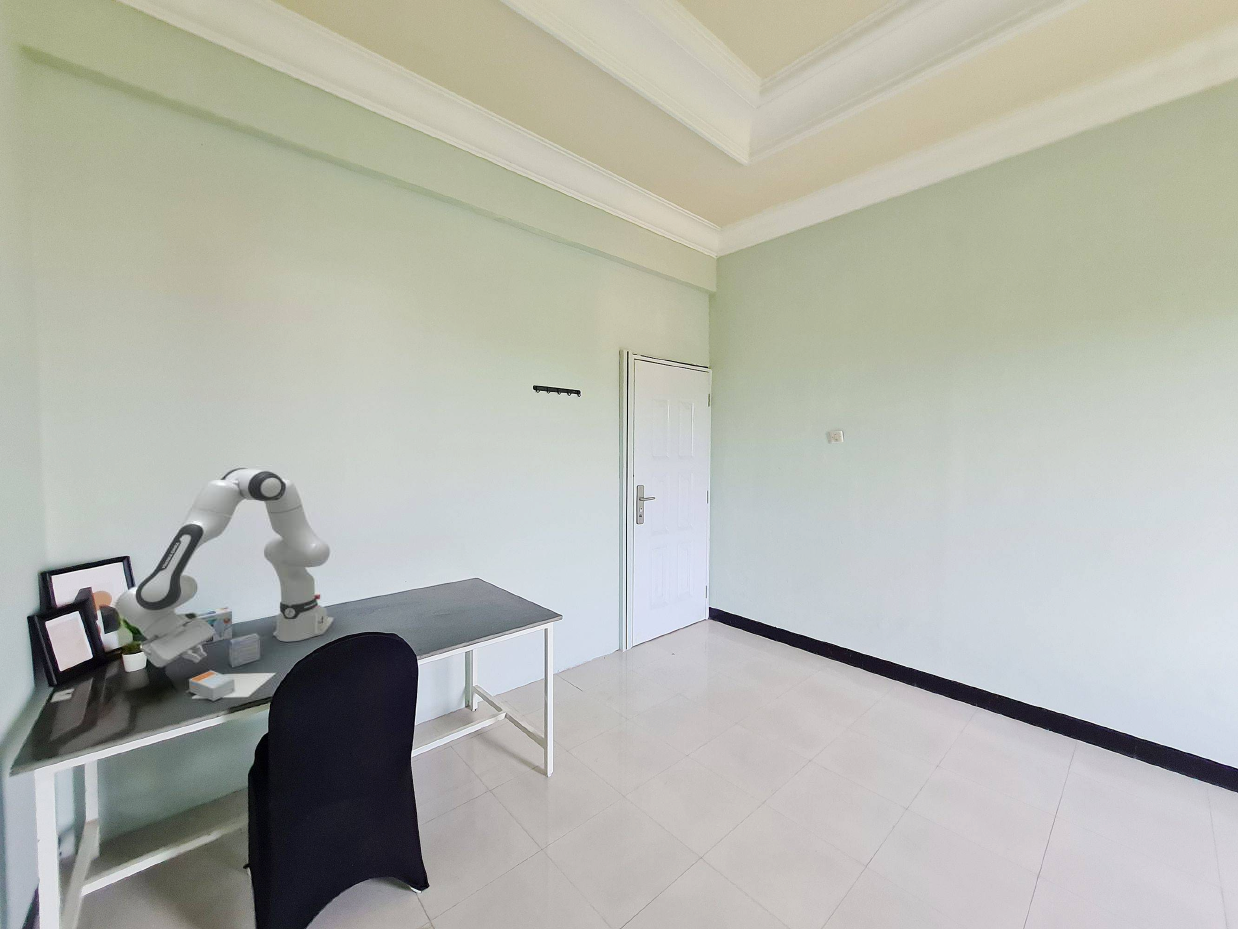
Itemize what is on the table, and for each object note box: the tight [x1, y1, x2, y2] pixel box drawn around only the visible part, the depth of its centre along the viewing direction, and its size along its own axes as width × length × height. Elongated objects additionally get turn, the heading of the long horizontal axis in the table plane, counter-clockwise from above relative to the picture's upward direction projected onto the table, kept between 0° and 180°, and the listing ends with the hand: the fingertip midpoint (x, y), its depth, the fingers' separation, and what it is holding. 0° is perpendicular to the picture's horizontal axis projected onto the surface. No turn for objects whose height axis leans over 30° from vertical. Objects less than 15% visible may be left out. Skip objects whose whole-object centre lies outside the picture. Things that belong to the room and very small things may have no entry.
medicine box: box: [228, 632, 261, 668], centre depth 166 cm, size 8×4×9 cm, turn 141°
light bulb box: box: [196, 606, 233, 646], centre depth 182 cm, size 11×7×11 cm, turn 137°
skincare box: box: [188, 669, 235, 702], centre depth 147 cm, size 6×4×12 cm
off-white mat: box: [191, 672, 277, 700], centre depth 151 cm, size 14×16×1 cm
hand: (201, 659), depth 149 cm, fingers closed
